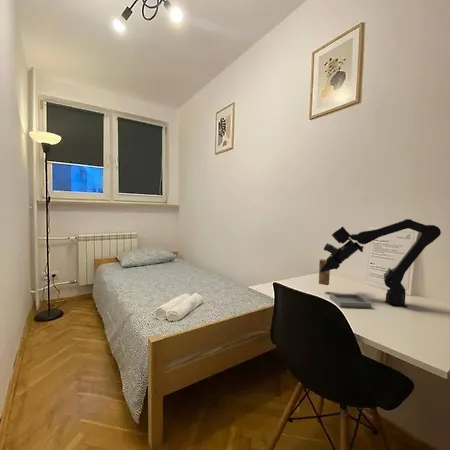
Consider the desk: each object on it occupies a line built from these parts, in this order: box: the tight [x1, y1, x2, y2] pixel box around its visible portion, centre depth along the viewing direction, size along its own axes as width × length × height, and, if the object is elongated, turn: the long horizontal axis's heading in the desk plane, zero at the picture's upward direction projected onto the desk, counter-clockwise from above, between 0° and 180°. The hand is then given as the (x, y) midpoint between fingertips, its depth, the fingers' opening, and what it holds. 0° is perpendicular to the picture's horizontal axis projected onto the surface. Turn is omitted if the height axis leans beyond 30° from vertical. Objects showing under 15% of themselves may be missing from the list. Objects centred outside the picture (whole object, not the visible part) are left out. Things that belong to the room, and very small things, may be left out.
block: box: [318, 258, 331, 286], centre depth 128 cm, size 4×4×12 cm
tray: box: [329, 293, 372, 309], centre depth 113 cm, size 13×12×2 cm
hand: (321, 270), depth 128 cm, fingers closed on block, 4 cm apart
